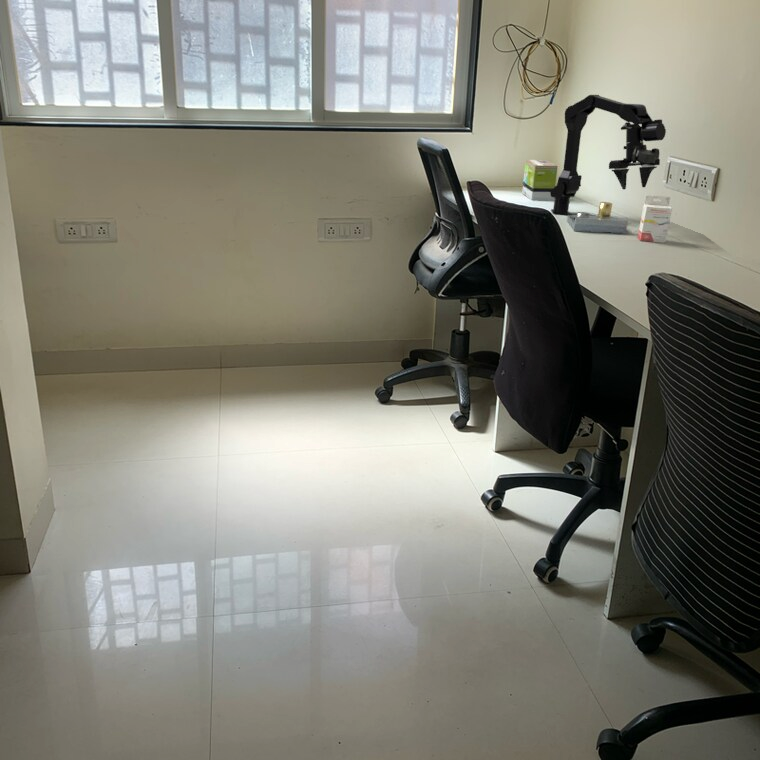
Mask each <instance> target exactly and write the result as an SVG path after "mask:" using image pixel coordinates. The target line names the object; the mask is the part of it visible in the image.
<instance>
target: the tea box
mask: <svg viewBox="0 0 760 760" xmlns="http://www.w3.org/2000/svg"><path fill="white" fill-rule="evenodd" d="M558 167H559V166H558V165H557V164H555V163H553V162H551V161H549V160H547V159H546V160H545V159H525V163H524V171H523V173H524V174H523V182H522V192H521V193H522V194H523V195H524V196H526V197H527V198H528V199H529V200H531V201H542V202H543V201H545V202H547V201H549V202H550V201H553V202H554V200H555V197H551V194H550V191H551V190H552V189H553V188H554V187H555V186H556V185H557V183H556V182H557V176H558V175H557V174H558Z"/></svg>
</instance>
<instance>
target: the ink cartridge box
mask: <svg viewBox="0 0 760 760" xmlns="http://www.w3.org/2000/svg"><path fill="white" fill-rule="evenodd" d="M657 199H658V200H657ZM659 200H660V201H659ZM670 200H671V196H667V195H666V196H665V195H652V194H650V195H649V194H646V195H645V200H644V204H643V207H642V210H641V211H642V212H641V218H640V222H639V228H638V232H637V233H638V235H637V239H639V241H640V242H650V243H651V242H653V243H666V242H667V236H668V232H669V227H670V221H671V216H672V212H673V210H672V209H673V208H672V207H671V206H670Z"/></svg>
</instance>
